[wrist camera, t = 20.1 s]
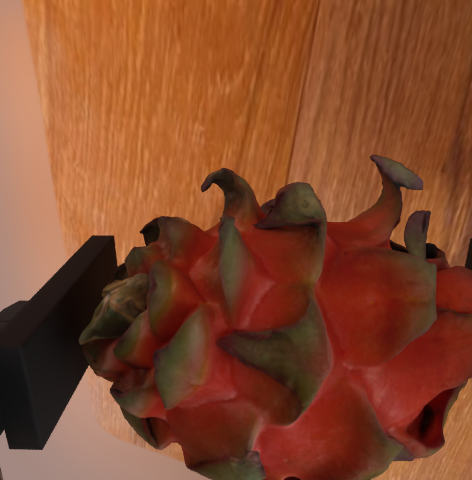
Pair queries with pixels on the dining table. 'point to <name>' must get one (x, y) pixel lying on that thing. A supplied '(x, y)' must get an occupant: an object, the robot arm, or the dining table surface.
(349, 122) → the dining table surface
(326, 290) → the dragon fruit
